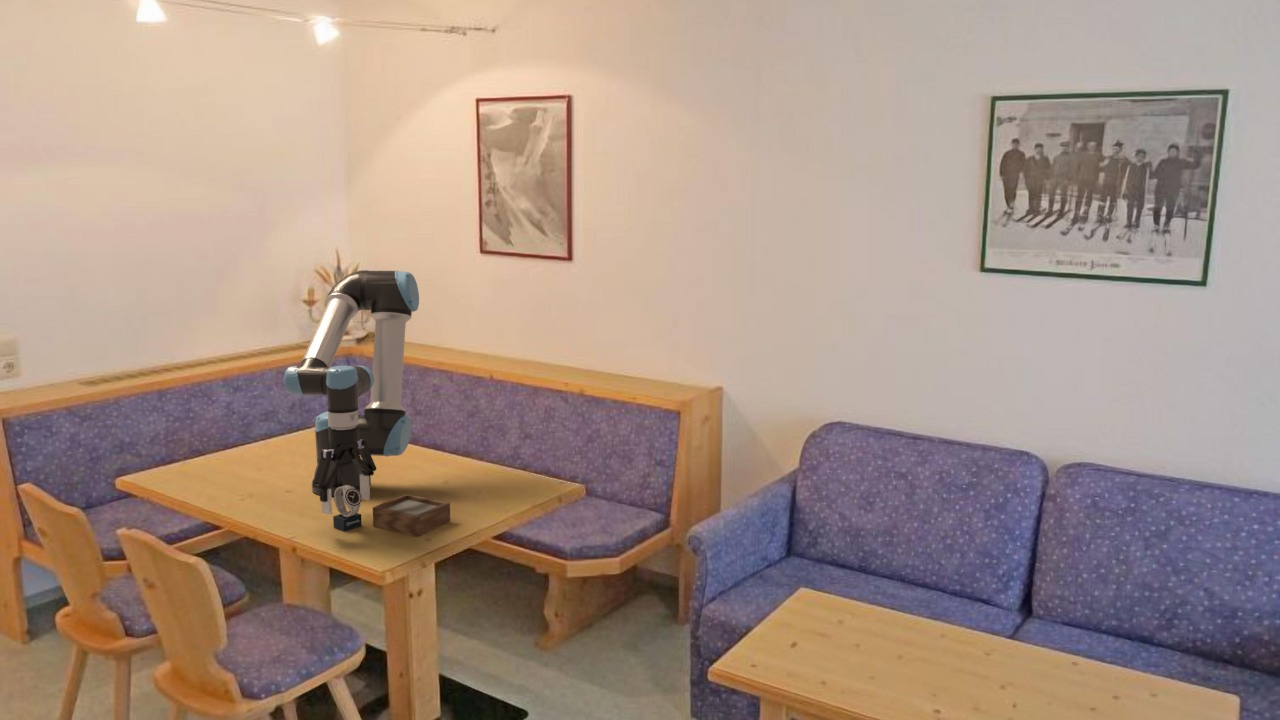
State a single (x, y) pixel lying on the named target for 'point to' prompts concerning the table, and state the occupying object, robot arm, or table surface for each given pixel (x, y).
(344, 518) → the watch
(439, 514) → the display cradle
